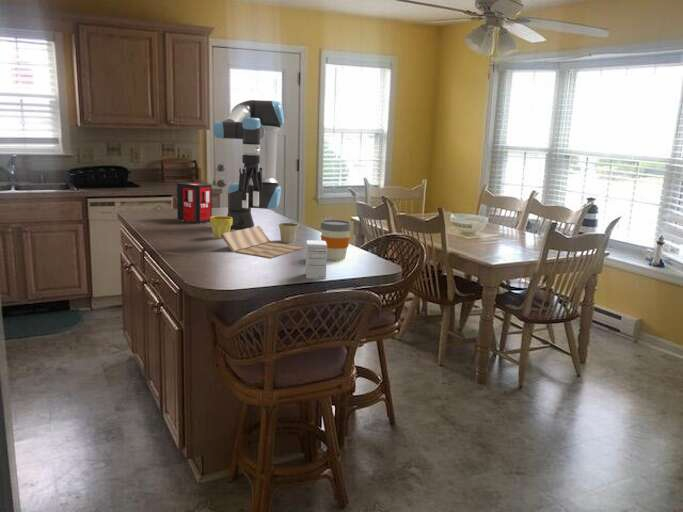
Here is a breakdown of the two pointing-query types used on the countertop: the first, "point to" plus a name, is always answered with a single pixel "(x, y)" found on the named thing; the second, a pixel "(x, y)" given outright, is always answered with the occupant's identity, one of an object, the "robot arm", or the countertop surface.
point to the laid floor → (270, 250)
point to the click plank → (245, 238)
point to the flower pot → (288, 232)
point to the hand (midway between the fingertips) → (250, 206)
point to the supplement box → (316, 259)
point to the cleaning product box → (194, 202)
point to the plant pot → (220, 225)
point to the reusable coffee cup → (336, 238)
